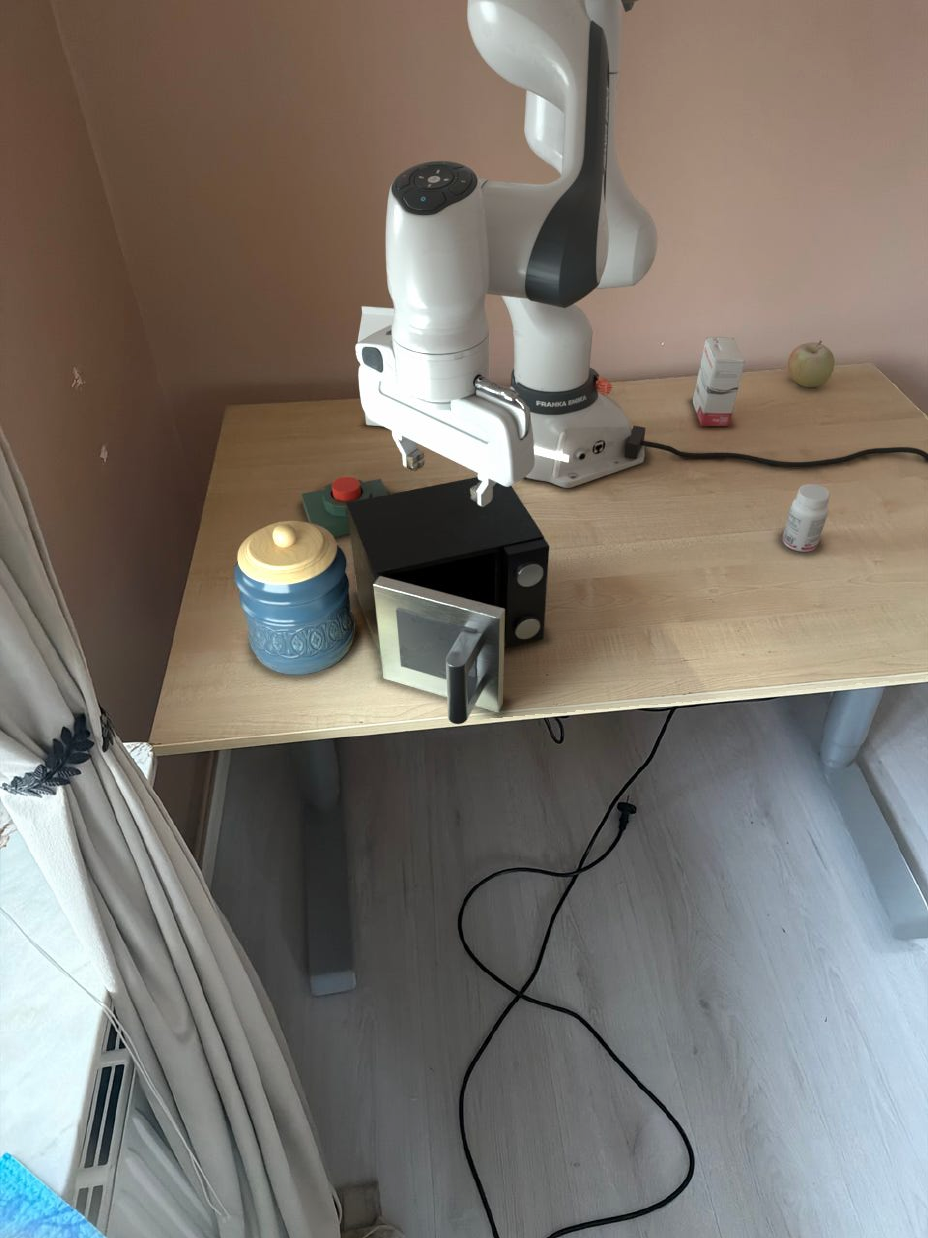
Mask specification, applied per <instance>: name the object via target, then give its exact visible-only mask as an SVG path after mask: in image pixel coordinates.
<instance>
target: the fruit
mask: <svg viewBox="0 0 928 1238" xmlns="http://www.w3.org/2000/svg"><path fill="white" fill-rule="evenodd" d="M822 342H823V341H822V340H819V342H807V343H802V344H800V345H798V346H796V347H795V348H794V349H793V350H792V351H791V353H790V355H789V356H788V360H787V371H788V374H789V376H790V378H791V380H792V381H794V382H795V383H796V384H798V385H800V386H802V387H805V388H817V387H819V386H822V385H823V384H826V382H828V380H829V379H830V378H831V377H832V374H833V372H834V370H835V356H834V354H833V352H832V351H831V349H830V348H828V347H827V346H826V345H824V344H822Z"/></svg>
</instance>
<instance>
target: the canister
mask: <svg viewBox="0 0 928 1238" xmlns="http://www.w3.org/2000/svg"><path fill="white" fill-rule="evenodd" d="M236 558H237V561H236V563H235V566H234V569H233V579H234V580H233V581H234V583H235V585H236V587H237V589H238V590H239V593H238V597H239V603H240V606H241V608H242V610H243V614H244V618H245V622H246V626H247V636H248V637H247V638H248V641H249V645H250V647H251V650H252V652H253V653H254V654H255V657H256V658H257V659H258V661H259V662H260V663H261V664H262V665H263V666H264V667H266V668H267V669H269V670H271V671H273V672H276V673H281V674H284V675H294V676H295V675H297V676H299V675H309V674H313V673H317V672H320V671H323V670H326V669H328V668H330V667H332V666H334V665H335V664H337V663H338V662H339V661H340V660H342V659H343V658H344V657H345V656H346V655H347V653H349V651H350V649H351V647H352V646H353V643H354V638H355V636H354V635H355V632H356V623H355V616H354V614H353V611H352V605H351V597H350V596H351V595H350V580H349V577H348V575H347V573H346V571H347V568H348V567H347V565H348V563H347V557H346V554H345V553H344V550H343V549H342V548H341V546H339V544H338V543H337V541H336V537H333V535H332V534H331V533H330V532H329V531H328V530H326V529H325V528H323V527H321V526H319V525H316V524H313V523H309V521H301V520H284V521H277V522H273V523H271V524H268V525H266V526H264V527H262V528H260V529H257V530H256V531H254V532H253V533H251V534H250V535H249V536H248V537H246V538H245V540H244V541H243V542H242V543H241V544H240V546H239V548H238V550H237V557H236Z"/></svg>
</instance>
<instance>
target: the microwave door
mask: <svg viewBox="0 0 928 1238" xmlns="http://www.w3.org/2000/svg"><path fill="white" fill-rule="evenodd" d="M373 587H374V596H375V605H376V614H377V623H378V633H379V642H380V651H381V658H380V661H381V660H382V661H381V670H382V677H383V679H385V680H388V681H391V682H395V683H398V684H401V685H405V686H408V687H411V688H415V689H418V690H421V691H424V692H428V693H432V694H435V695H438V696H441V697H445V698H446V699H447V700H446V702H447V718H448V721H449V722H450V723H452V724H454V725H462V724H464V723H465V722H467V720H468V719H469V717H470V715H471V713H472V711H473V709H474V708H475V707H477V708H481V709H484V710H488V711H491V712H495V713H499V712H500V710H501V707H502V706H503V704H504V669H505V667H504V665H505V664H504V663H505V645H504V628H505V609H503V608H500V607H496V606H492V605H488V604H485V603H481V602H477V601H473V600H469V599H466V598H462V597H458V596H454V595H450V594H447V593H443V592H439V591H435V590H432V589H428V588H424V587H420V586H416V585H413V584H409V583H405V582H401V581H397V580H394V579H390V578H386V577H382V576H379V578H378V579H377V580H376V582H375V583H374V584H373Z"/></svg>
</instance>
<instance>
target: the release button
mask: <svg viewBox="0 0 928 1238" xmlns="http://www.w3.org/2000/svg"><path fill="white" fill-rule="evenodd" d="M357 479H358V478H356V477H353V476H342V477H338V478H336V479H334V481H332V482H331V483H332V491H333V497H334V499H335V500H337V501H342V502H348V501H354V500H356V499H358V498H359V497H360V495H361V488H360V482H359V480H360V479H358V480H357Z"/></svg>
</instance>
